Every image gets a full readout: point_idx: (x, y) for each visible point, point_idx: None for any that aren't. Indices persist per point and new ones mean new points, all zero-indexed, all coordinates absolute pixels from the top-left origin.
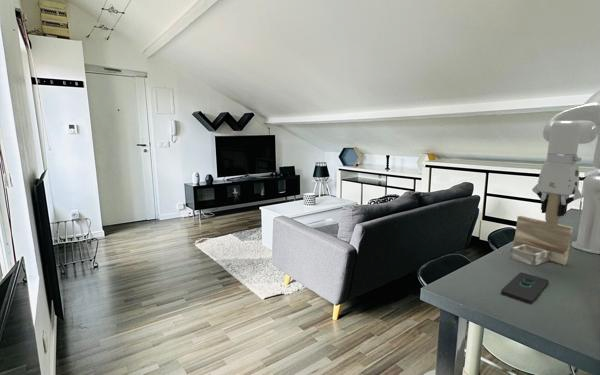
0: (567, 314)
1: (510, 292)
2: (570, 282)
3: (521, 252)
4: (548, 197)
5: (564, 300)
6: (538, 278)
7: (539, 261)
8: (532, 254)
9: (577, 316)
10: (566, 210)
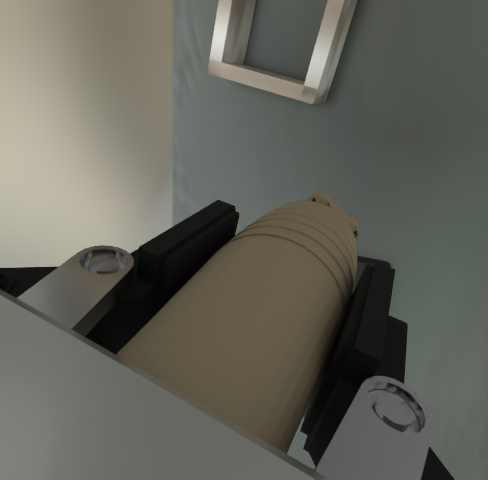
0: (443, 447)
1: (306, 411)
2: (472, 200)
3: (255, 87)
4: (111, 305)
5: (439, 372)
6: (356, 274)
7: (339, 50)
8: (299, 98)
9: (468, 449)
10: (404, 344)
